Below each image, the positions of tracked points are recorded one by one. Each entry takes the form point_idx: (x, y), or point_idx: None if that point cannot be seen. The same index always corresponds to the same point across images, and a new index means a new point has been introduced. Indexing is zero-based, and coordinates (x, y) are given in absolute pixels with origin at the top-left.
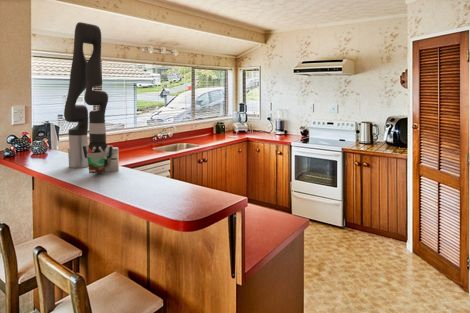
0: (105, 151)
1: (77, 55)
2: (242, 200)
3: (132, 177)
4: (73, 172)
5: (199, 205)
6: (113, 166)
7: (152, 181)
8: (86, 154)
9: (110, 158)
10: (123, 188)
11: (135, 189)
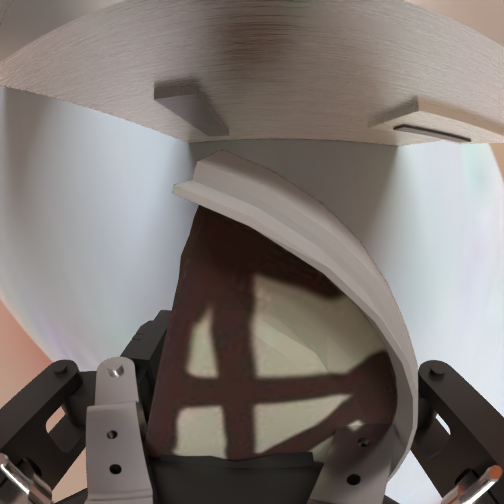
0: (390, 474)
1: None
2: None
3: (460, 360)
4: (44, 212)
5: None
6: (377, 137)
7: (491, 402)
8: (80, 446)
9: (393, 124)
10: None
11: (410, 480)
